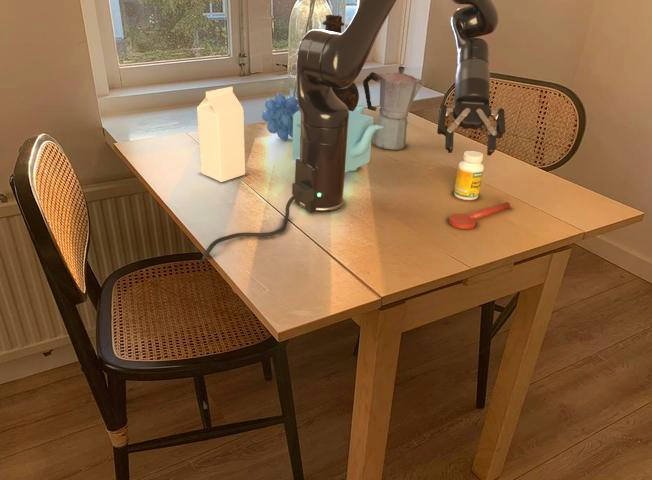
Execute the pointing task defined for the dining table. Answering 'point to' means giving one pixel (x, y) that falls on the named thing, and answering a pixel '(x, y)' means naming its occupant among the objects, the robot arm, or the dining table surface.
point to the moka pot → (393, 106)
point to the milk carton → (221, 135)
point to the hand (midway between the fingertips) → (470, 152)
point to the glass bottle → (351, 93)
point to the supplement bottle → (469, 176)
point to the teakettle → (356, 138)
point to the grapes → (280, 115)
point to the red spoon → (474, 216)
